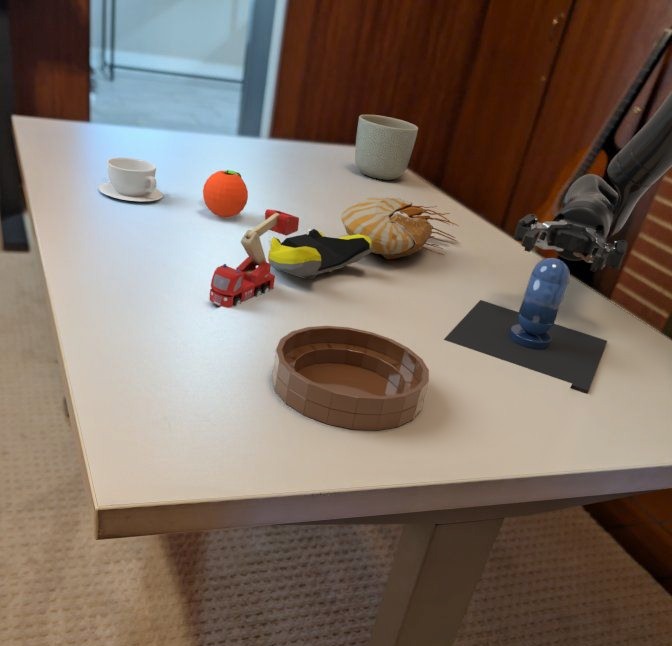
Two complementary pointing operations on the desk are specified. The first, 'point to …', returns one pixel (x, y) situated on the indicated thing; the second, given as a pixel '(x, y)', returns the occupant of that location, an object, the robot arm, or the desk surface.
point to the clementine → (225, 193)
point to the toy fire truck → (250, 264)
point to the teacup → (131, 180)
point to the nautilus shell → (392, 225)
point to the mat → (556, 360)
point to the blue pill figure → (541, 303)
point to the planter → (384, 146)
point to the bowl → (349, 377)
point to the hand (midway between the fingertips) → (561, 253)
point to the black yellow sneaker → (316, 253)
